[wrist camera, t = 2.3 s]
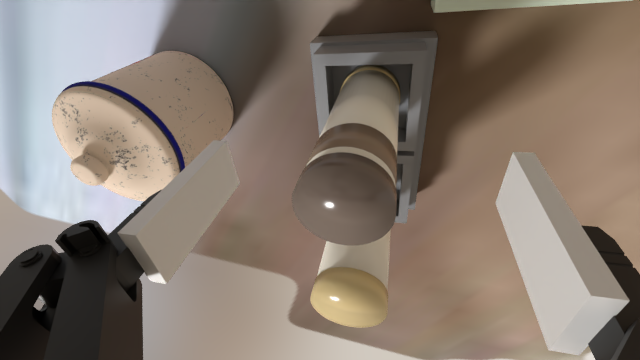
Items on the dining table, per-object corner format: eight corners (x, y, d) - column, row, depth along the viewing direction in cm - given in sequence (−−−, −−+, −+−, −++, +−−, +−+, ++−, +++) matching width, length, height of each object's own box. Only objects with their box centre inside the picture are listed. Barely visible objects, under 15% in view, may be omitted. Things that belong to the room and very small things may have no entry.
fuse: (344, 153, 24) (306, 278, 15) (395, 155, 23) (389, 290, 14) (345, 191, 27) (314, 320, 18) (392, 195, 26) (385, 332, 17)
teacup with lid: (144, 24, 24) (-16, 71, 15) (248, 79, 24) (158, 155, 15) (141, 138, 31) (35, 214, 22) (221, 177, 32) (149, 265, 23)
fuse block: (316, 36, 21) (301, 51, 18) (435, 30, 19) (441, 46, 16) (330, 188, 30) (321, 216, 26) (414, 195, 28) (415, 225, 25)
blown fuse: (339, 65, 20) (284, 164, 11) (402, 63, 19) (400, 170, 10) (342, 120, 23) (299, 239, 13) (398, 121, 22) (392, 250, 12)
